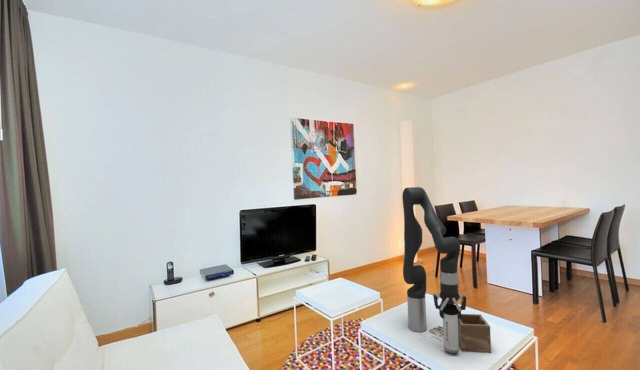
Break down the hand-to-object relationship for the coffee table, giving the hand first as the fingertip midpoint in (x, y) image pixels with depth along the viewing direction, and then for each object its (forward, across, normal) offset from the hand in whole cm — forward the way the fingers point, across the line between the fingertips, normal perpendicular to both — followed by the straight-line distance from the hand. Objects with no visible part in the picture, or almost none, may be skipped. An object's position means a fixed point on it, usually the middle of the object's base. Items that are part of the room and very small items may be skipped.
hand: (450, 318), depth 133 cm
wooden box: (+16, -11, -8) cm, 21 cm away
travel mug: (+14, 0, 0) cm, 14 cm away
